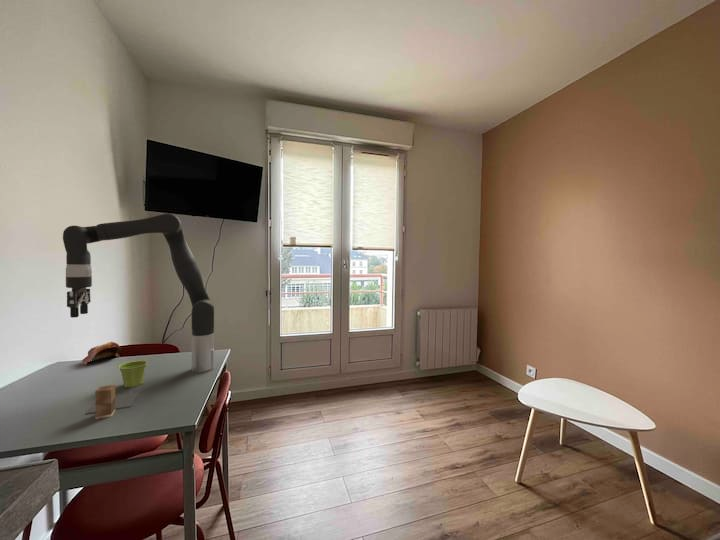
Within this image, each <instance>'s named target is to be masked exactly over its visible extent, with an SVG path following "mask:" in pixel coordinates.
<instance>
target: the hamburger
mask: <svg viewBox="0 0 720 540" xmlns="http://www.w3.org/2000/svg"><path fill="white" fill-rule="evenodd" d="M120 351H122V347H121V346H120V345H119V344H118V343H116V342H114V341H109V342H107V343H104V344H100V345H97V346H94V347H91V348H90V349H89V350H88V352H87V356H85V357H84V358H83V359H82V360H81V364H85V365H87V364H88V363H87V362H89V361H91V360H93V361H97V360H99V359H104V358H109V357H110V358H111V357H117V358H120V354H119V353H118V352H120ZM91 362H92V361H91ZM89 363H90V362H89ZM85 365H84V366H85Z"/></svg>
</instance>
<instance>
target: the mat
mask: <svg viewBox="0 0 720 540" xmlns="http://www.w3.org/2000/svg"><path fill="white" fill-rule="evenodd" d="M139 394H140V391H137V392H130V393H123V394H117V395H116V394H115V410H120V409H126V408H127V409H128V408H131V407H132V406H133V404H134V402H135V400H136V399H137V397H138V396H139ZM92 414H96V401H95V402H94V403H93V405H92V406H90V408H89V409H88V410H87V411H86V413H85V415H92Z"/></svg>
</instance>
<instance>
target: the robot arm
mask: <svg viewBox="0 0 720 540" xmlns="http://www.w3.org/2000/svg"><path fill="white" fill-rule="evenodd" d="M62 233H63V234H62V243H63V245H64V249H65V252H66V258H65V259H66V262H65V263H66V267H65V287H66V288H67V289H71V291H67V292H66V307H67V308H69V311H70V312H69V313H70V318H73V319H74V318H78V317H79V316H80V315H87V314H88V313H89V303H91V289H90V288H91V287H93V286H92V285H93V281H92V280H93V279H92V278H93V275H92V265H91V262H92V261H91V259H92V258H91V257H92V256H91V253H90V250H88V244H92V243H93V244H94V243H98V242H102V241H112V240H118V239H119V240H121V239H126V238H130V237H136V236H139V235H146V234H162V235H163V236H164V238H165V241H166V242H167V244H168V247H169V251H170V255H171V261H172V264H173V267H174V270H175V273H176V276H177V278H178V279H179V281H180V283H181V285H182V286H183V287H184V289H185V291H186V293H187V294H188V297H189V300H190V302H191V303H190V304H191V307H192V308H191V371H192V372H193V373H204V372H205V373H206V372H208V371H209V372H210V371H213V370H215V305H214V303H213V302H212V300H211V298H210V297H209V295H208V293H207V291H206V288H205V286H204V281H203V276H202V274H201V270H200V267H199V266H198V263H197V260H196V258H195V256H194V254H193V252H192V250H191V248H190V247H189V245H188V243H187V239H186V236H185V232H184V229H183V224H182V221H181V220H180V218H179V217H178V216H177V215H175V214H173V213H167V212H166V213H162V214H158V215H155V216H151V217H147V218H142V219H141V218H139V219H135V220H124V221H112V222H106V223H105V222H104V223H103V222H102V223H99V224H96V225H92V226H80V225H70V226H68V227H66V228H64V230H63V232H62Z"/></svg>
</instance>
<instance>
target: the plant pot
mask: <svg viewBox="0 0 720 540" xmlns="http://www.w3.org/2000/svg"><path fill="white" fill-rule="evenodd" d="M147 364H148V361H146V360H135V361H128V362H125V363H122V364H120V365H119V366H118V369H119V371H120V372H121V377H122V381H123V382H122V383H123V387H124V388H135V387H139V386H140V385H142V384H143V382H144V376H145V371H146V367H147Z"/></svg>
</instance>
